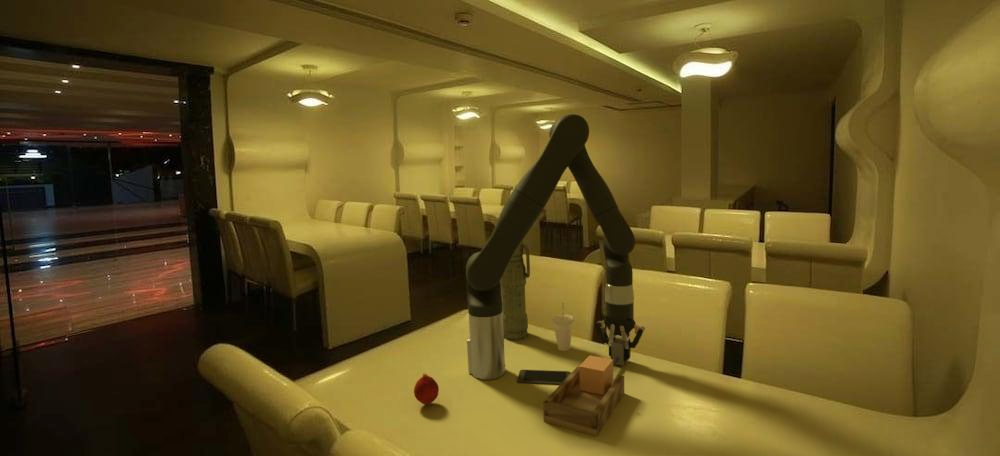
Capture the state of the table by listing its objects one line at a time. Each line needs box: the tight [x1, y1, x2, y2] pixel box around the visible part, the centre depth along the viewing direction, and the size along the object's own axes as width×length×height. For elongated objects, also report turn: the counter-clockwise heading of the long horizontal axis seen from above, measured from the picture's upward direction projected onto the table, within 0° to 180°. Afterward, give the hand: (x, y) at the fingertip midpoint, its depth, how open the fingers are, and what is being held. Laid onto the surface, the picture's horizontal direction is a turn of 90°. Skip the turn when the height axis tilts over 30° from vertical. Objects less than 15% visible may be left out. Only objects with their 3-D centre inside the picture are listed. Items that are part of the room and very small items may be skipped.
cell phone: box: [516, 369, 572, 386], centre depth 121 cm, size 7×14×1 cm, turn 79°
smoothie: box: [552, 302, 575, 352], centre depth 139 cm, size 6×6×14 cm
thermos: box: [500, 239, 531, 341], centre depth 150 cm, size 9×12×35 cm
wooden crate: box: [542, 366, 625, 437], centre depth 105 cm, size 20×12×4 cm, turn 149°
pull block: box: [578, 336, 626, 395], centre depth 119 cm, size 25×6×7 cm, turn 149°
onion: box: [413, 372, 440, 406], centre depth 109 cm, size 6×6×8 cm
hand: (619, 358), depth 128 cm, fingers closed on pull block, 3 cm apart
